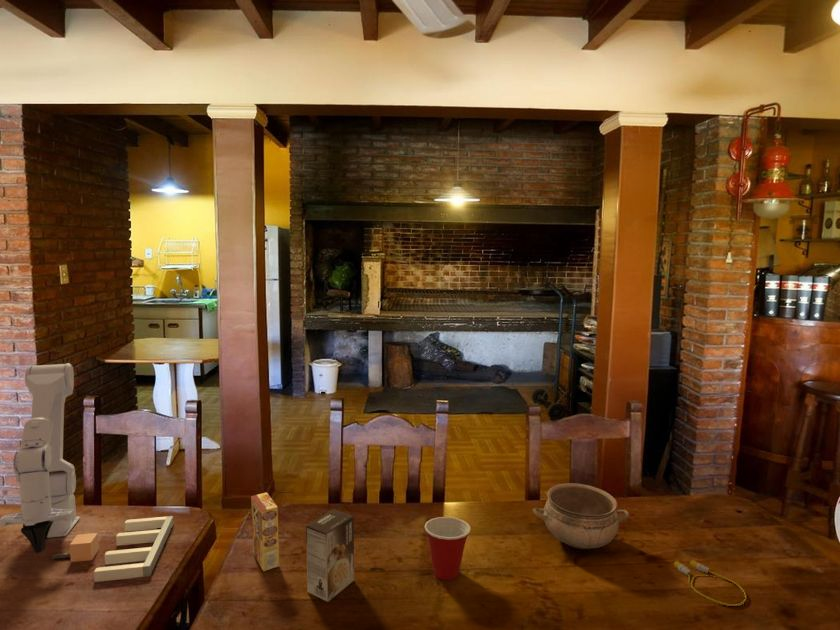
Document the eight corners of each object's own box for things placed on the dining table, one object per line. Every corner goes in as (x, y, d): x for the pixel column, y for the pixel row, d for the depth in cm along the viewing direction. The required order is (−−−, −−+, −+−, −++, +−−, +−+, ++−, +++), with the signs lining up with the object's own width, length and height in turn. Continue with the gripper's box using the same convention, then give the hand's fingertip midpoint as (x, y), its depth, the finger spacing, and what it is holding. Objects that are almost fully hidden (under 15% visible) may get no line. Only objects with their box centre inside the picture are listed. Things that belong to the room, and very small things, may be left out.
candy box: (280, 566, 126) (279, 506, 123) (262, 572, 123) (261, 511, 121) (268, 548, 133) (267, 491, 131) (251, 553, 130) (250, 495, 128)
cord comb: (126, 528, 141) (126, 519, 140) (173, 524, 143) (172, 515, 143) (94, 582, 119) (93, 571, 118) (150, 576, 121) (149, 566, 121)
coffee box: (333, 571, 124) (333, 507, 122) (354, 580, 121) (355, 515, 119) (306, 592, 117) (305, 524, 114) (327, 603, 113) (327, 533, 111)
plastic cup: (467, 559, 130) (468, 514, 128) (470, 588, 119) (472, 538, 118) (423, 558, 130) (424, 512, 128) (423, 586, 119) (424, 537, 118)
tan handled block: (56, 553, 129) (55, 536, 128) (98, 549, 131) (97, 532, 130) (48, 564, 125) (47, 546, 124) (91, 560, 127) (90, 542, 126)
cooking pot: (539, 562, 129) (541, 516, 128) (524, 522, 148) (526, 481, 147) (640, 564, 129) (644, 518, 128) (613, 524, 148) (616, 483, 147)
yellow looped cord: (721, 567, 130) (721, 559, 130) (758, 611, 114) (759, 602, 114) (670, 564, 131) (671, 557, 130) (700, 608, 115) (701, 599, 115)
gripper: (-10, 507, 119) (-5, 563, 120) (62, 502, 122) (66, 556, 123) (7, 493, 125) (12, 546, 127) (75, 488, 129) (79, 540, 130)
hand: (40, 550), depth 126 cm, fingers closed
